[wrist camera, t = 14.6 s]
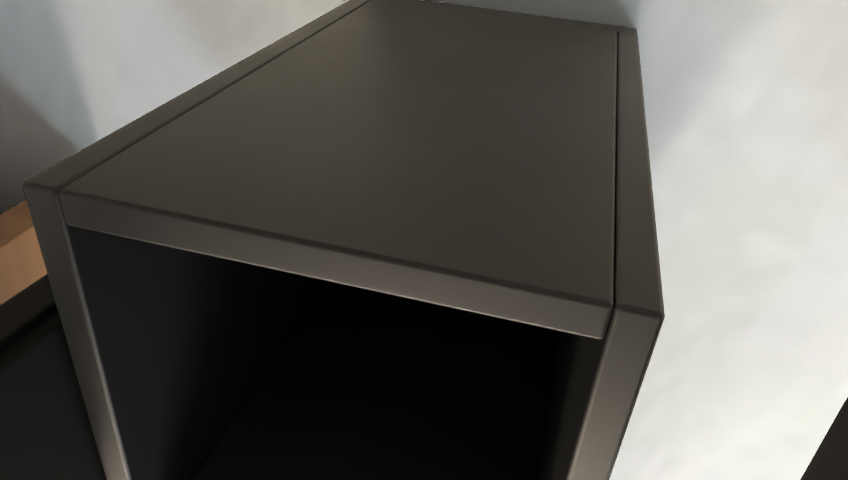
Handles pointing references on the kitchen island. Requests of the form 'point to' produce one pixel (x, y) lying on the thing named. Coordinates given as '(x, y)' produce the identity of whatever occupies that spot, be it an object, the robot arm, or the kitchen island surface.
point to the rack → (18, 252)
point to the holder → (368, 256)
